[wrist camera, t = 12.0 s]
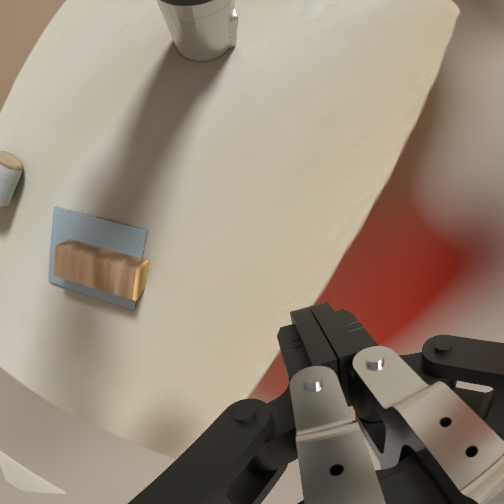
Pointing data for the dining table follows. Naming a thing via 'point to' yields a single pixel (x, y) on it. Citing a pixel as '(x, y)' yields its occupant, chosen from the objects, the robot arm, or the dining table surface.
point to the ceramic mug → (8, 176)
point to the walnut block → (101, 268)
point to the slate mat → (98, 235)
